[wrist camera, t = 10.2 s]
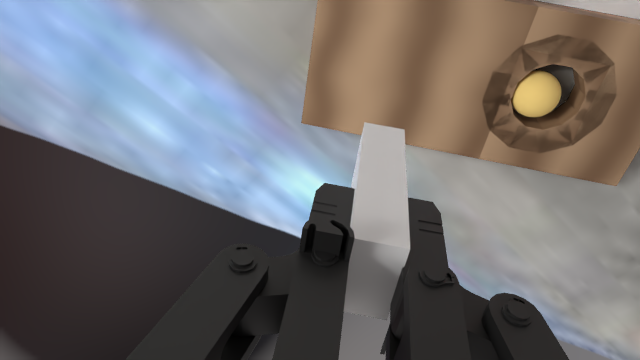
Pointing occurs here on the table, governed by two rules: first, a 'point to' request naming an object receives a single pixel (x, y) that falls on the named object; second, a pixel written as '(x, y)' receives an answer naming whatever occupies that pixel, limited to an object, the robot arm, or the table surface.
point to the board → (480, 79)
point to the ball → (536, 94)
